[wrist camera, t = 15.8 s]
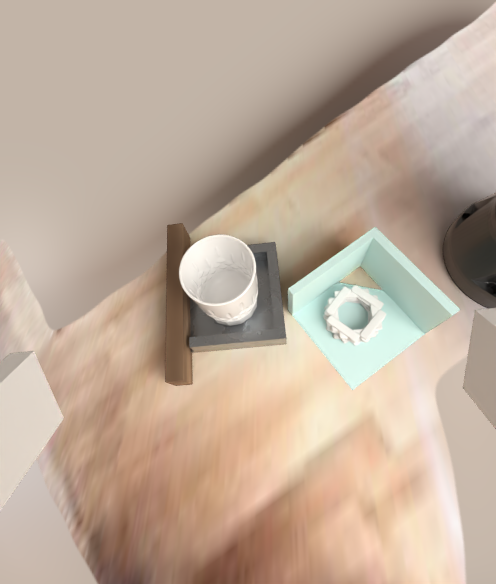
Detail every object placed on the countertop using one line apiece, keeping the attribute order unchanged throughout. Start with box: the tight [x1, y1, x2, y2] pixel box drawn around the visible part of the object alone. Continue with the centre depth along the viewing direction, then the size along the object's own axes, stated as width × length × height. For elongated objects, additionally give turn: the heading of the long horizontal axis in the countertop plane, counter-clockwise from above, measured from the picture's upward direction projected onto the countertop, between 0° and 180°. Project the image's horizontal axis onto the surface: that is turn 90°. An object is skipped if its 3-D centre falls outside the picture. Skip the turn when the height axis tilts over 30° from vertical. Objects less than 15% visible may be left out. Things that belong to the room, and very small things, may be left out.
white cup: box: [179, 234, 258, 326], centre depth 40 cm, size 8×8×10 cm
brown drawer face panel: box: [165, 223, 192, 386], centre depth 44 cm, size 2×20×4 cm, turn 4°
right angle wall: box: [288, 227, 460, 390], centre depth 39 cm, size 12×12×8 cm
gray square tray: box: [189, 242, 286, 353], centre depth 44 cm, size 12×12×3 cm
